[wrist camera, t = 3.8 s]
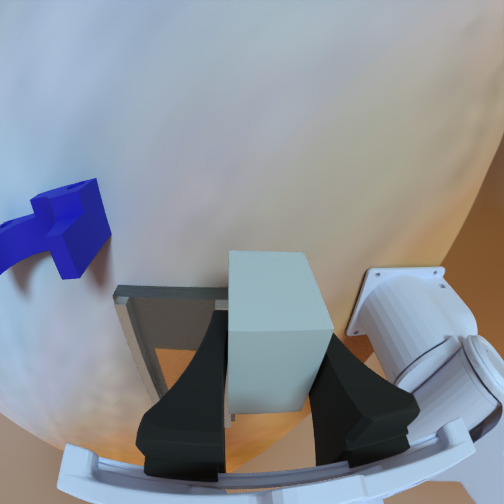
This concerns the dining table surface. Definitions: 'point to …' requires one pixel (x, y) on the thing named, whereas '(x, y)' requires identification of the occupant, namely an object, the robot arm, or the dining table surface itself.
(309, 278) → the pale grey block
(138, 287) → the rail
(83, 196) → the cable clip
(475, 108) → the dining table surface
